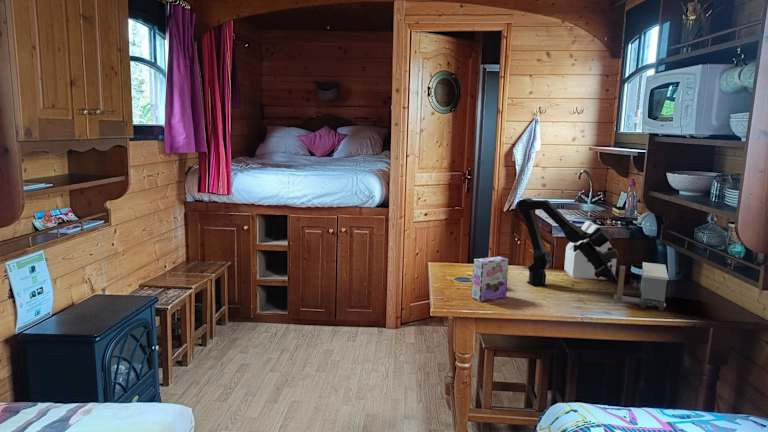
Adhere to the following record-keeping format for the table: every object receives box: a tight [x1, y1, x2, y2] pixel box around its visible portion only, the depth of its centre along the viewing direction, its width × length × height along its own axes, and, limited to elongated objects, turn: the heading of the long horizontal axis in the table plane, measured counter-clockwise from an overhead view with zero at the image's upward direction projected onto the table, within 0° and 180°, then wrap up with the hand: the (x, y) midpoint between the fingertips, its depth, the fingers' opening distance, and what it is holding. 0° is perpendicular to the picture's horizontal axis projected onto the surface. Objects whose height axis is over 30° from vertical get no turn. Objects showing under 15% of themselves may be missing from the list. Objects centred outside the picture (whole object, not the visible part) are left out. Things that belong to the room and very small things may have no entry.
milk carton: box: [563, 220, 618, 280], centre depth 251 cm, size 19×15×25 cm
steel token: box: [655, 300, 667, 308], centre depth 209 cm, size 4×4×1 cm
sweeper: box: [613, 265, 656, 308], centre depth 212 cm, size 15×6×14 cm, turn 65°
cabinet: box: [639, 261, 669, 312], centre depth 213 cm, size 9×23×14 cm, turn 154°
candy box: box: [470, 256, 510, 302], centre depth 212 cm, size 14×6×16 cm, turn 117°
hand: (617, 282), depth 215 cm, fingers closed, pressing on sweeper
